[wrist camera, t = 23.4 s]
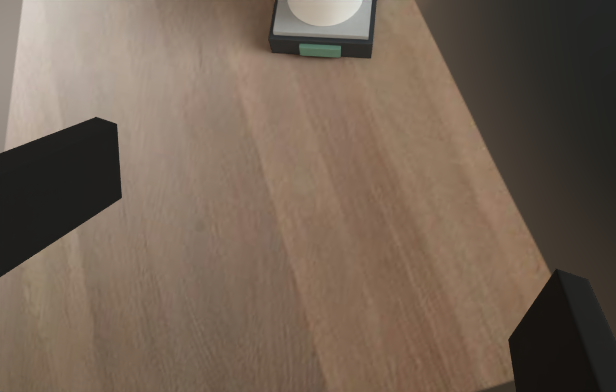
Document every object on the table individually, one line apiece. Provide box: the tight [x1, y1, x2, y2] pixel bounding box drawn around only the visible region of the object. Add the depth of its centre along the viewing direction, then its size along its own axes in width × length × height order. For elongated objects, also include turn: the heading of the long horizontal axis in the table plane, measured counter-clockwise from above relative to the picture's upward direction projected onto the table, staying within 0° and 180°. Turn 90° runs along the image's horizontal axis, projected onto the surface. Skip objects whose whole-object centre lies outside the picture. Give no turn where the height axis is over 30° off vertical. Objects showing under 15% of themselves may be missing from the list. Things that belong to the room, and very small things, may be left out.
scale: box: [269, 0, 377, 58], centre depth 44 cm, size 11×12×3 cm
